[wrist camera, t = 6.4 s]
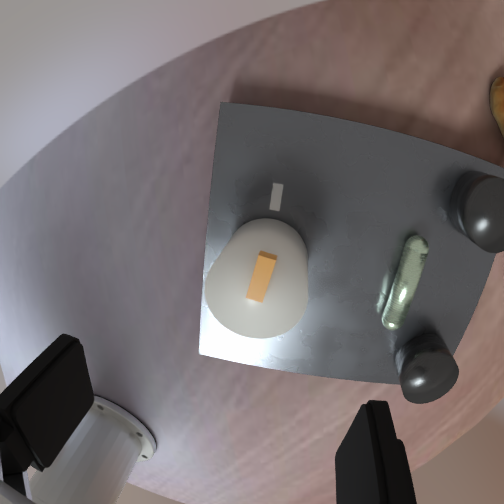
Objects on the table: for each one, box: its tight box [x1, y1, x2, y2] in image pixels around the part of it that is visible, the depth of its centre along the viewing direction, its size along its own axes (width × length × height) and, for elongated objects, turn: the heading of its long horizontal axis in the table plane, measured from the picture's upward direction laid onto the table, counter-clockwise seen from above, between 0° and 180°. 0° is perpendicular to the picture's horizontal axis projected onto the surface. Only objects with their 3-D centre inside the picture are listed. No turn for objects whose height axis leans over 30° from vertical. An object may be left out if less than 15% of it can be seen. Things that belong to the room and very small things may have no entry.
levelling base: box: [199, 102, 504, 404], centre depth 19 cm, size 18×20×5 cm
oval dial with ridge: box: [205, 218, 308, 339], centre depth 17 cm, size 5×5×6 cm
